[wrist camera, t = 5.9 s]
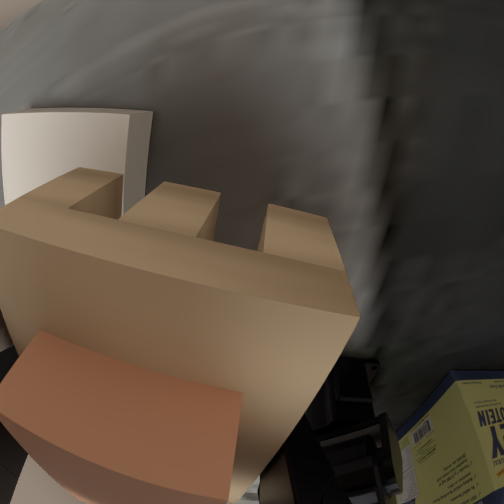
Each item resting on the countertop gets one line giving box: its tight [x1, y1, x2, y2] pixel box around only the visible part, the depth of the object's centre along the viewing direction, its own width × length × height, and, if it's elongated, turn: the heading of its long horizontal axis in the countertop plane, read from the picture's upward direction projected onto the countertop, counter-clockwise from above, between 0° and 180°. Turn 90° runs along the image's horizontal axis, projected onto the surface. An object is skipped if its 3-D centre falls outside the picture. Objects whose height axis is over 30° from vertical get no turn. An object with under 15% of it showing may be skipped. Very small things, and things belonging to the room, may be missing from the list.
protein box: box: [396, 370, 504, 504], centre depth 20 cm, size 10×16×16 cm
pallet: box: [0, 167, 360, 504], centre depth 8 cm, size 10×6×4 cm, turn 168°
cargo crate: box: [0, 330, 243, 504], centre depth 5 cm, size 6×4×2 cm, turn 168°
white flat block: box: [1, 107, 153, 215], centre depth 17 cm, size 12×10×3 cm
